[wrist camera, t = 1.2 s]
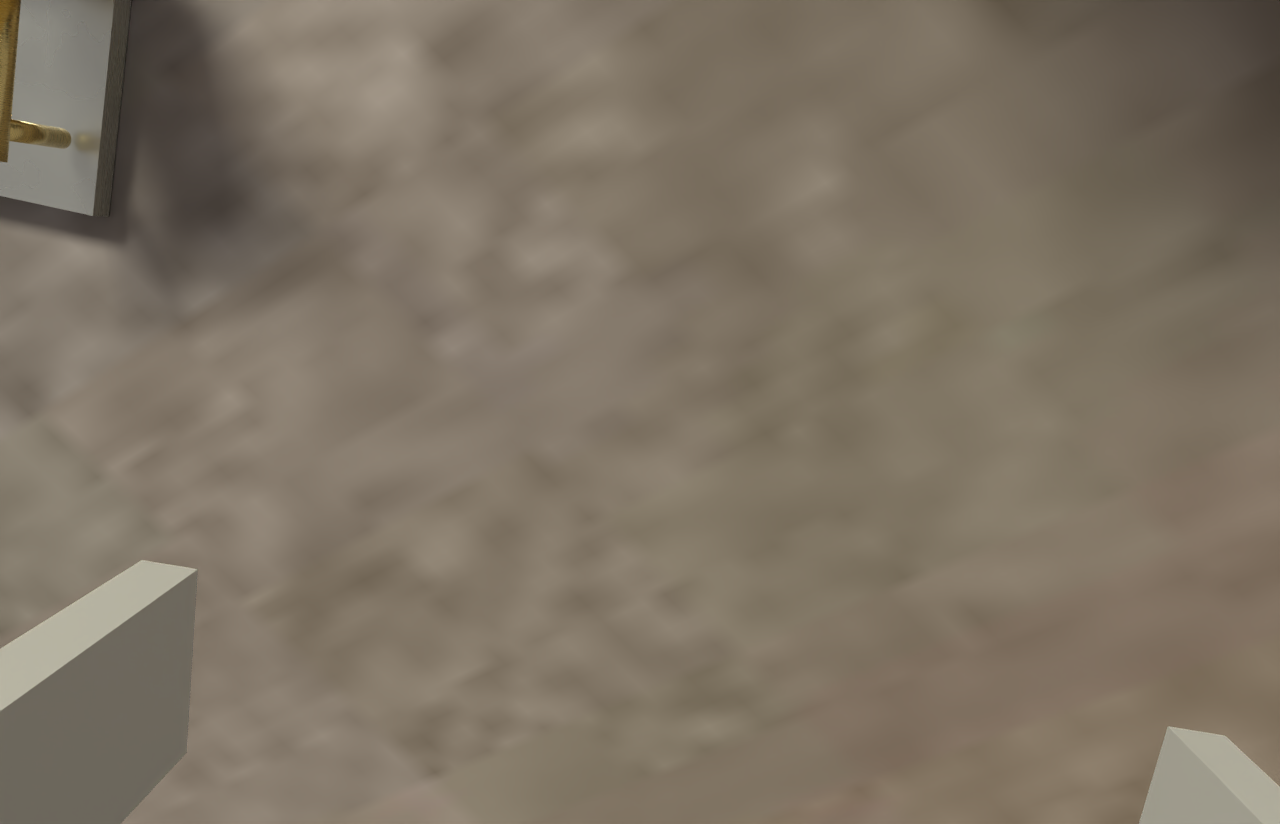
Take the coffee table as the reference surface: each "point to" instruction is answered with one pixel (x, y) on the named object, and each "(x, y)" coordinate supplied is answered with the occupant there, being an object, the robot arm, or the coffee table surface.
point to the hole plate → (68, 102)
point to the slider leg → (3, 27)
